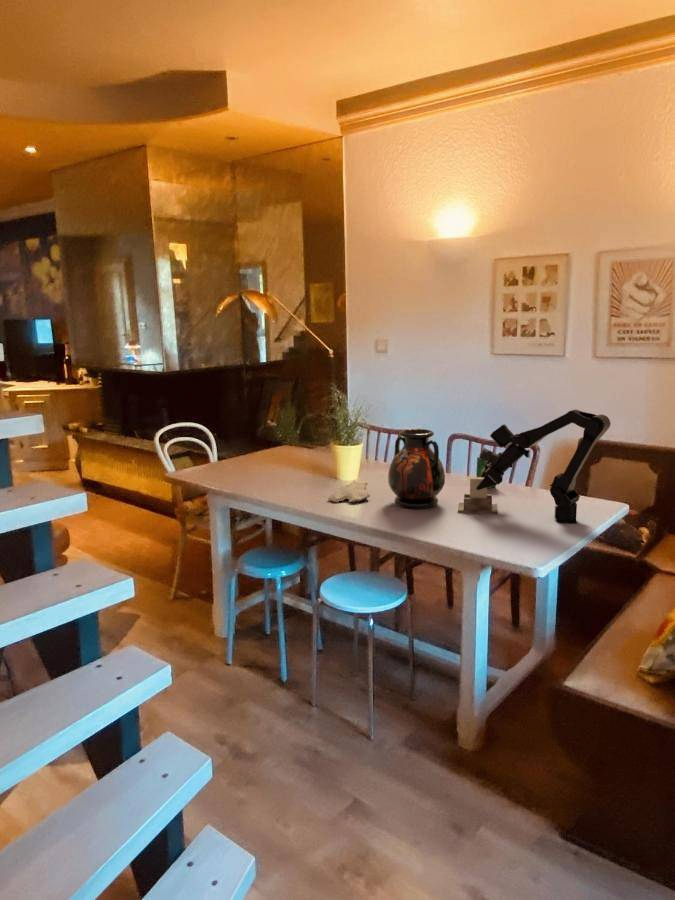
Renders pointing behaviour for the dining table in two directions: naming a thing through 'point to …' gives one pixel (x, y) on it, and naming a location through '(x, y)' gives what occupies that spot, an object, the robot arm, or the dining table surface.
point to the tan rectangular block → (473, 491)
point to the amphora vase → (416, 470)
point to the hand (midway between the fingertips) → (477, 485)
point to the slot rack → (477, 505)
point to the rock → (350, 492)
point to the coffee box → (481, 468)
